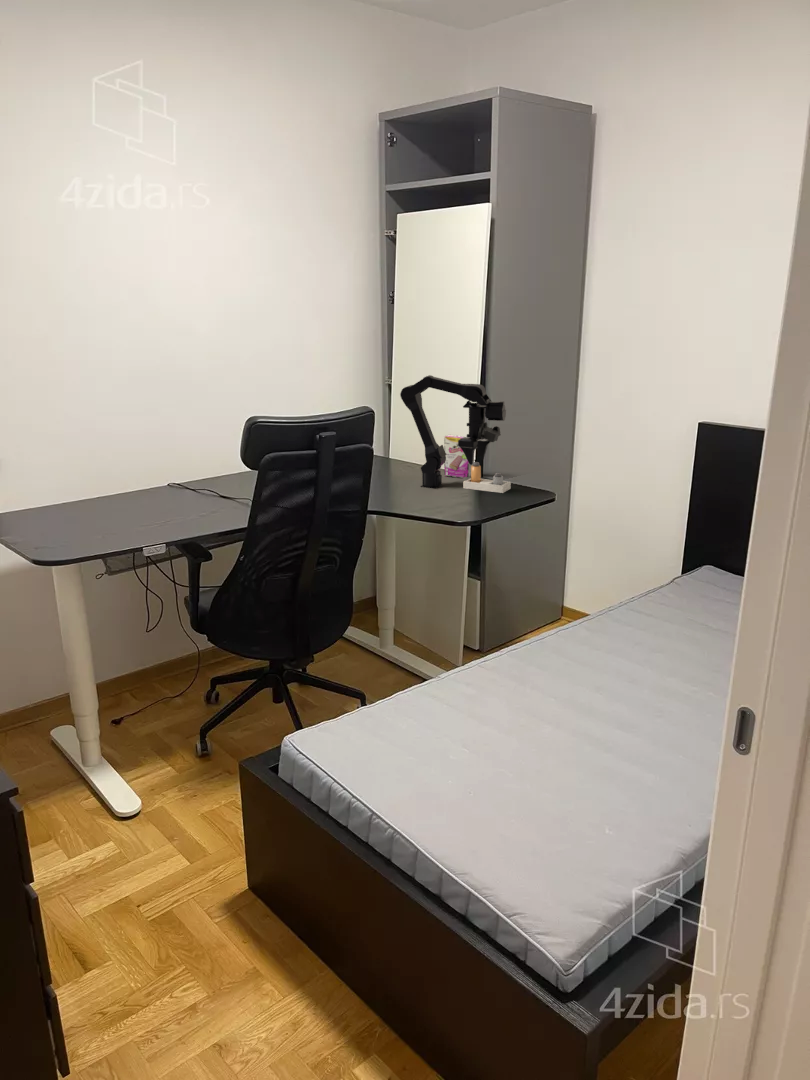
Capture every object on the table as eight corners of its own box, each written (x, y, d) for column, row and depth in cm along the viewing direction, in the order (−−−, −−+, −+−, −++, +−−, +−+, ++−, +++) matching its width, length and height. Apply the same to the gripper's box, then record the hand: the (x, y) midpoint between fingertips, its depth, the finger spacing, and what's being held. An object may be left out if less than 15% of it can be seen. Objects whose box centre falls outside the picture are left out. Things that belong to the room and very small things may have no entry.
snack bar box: (443, 476, 315) (443, 436, 310) (449, 474, 319) (449, 434, 314) (468, 479, 309) (468, 438, 304) (474, 477, 313) (474, 436, 308)
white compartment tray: (463, 490, 293) (463, 481, 292) (471, 486, 298) (471, 477, 297) (502, 495, 285) (502, 486, 284) (510, 491, 290) (510, 482, 289)
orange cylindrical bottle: (478, 488, 291) (478, 464, 288) (469, 487, 293) (469, 463, 290) (482, 486, 294) (482, 462, 291) (473, 485, 296) (473, 461, 293)
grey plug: (491, 490, 288) (491, 474, 287) (495, 488, 291) (495, 472, 290) (500, 491, 287) (500, 475, 285) (504, 489, 290) (504, 473, 288)
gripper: (485, 425, 274) (485, 469, 279) (507, 417, 289) (507, 459, 294) (457, 423, 280) (457, 466, 284) (480, 415, 295) (480, 456, 300)
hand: (476, 462), depth 290 cm, fingers open, 9 cm apart
